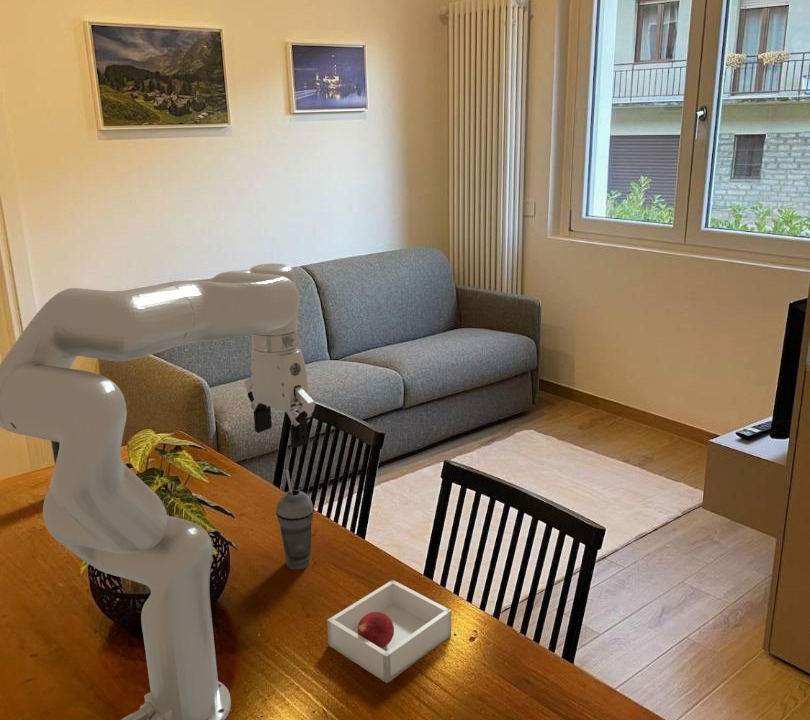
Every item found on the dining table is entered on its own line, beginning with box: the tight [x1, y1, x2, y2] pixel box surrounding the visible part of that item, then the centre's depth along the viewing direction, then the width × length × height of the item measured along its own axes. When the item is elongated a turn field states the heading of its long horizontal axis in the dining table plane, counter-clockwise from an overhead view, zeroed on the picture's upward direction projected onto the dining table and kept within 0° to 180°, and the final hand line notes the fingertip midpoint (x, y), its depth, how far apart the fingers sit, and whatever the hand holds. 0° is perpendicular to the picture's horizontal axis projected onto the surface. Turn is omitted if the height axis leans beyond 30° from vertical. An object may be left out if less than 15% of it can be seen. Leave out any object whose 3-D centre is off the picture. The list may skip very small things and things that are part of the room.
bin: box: [326, 579, 452, 684], centre depth 130 cm, size 16×14×5 cm
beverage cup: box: [275, 469, 315, 570], centre depth 151 cm, size 7×7×20 cm
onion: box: [358, 612, 394, 649], centre depth 127 cm, size 6×6×8 cm
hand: (281, 437), depth 132 cm, fingers open, 9 cm apart
